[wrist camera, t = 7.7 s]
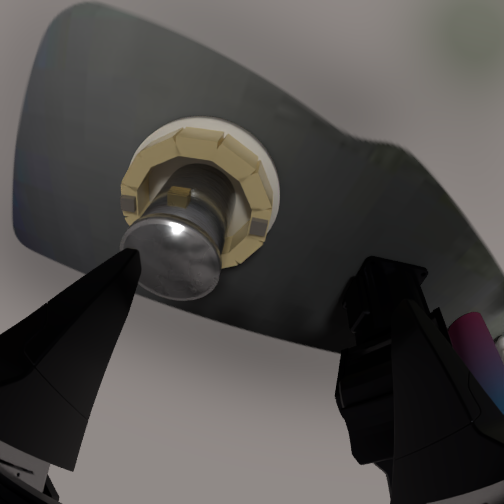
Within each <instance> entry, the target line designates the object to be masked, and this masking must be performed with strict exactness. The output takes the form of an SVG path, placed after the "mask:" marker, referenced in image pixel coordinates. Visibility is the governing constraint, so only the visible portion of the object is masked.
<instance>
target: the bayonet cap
mask: <svg viewBox="0 0 504 504" xmlns="http://www.w3.org/2000/svg"><path fill="white" fill-rule="evenodd" d="M235 204H236V194H235V190H234V187H233V185H232V183H231V181H230V180H229V178H228V177H227V176H226V175H225V174H224V173H222V172H221V171H220V170H218V169H217V168H215V167H213V166H210V165H206V164H200V163H193V164H188V165H185V166H182V167H180V168H179V169H177V170H176V171H175V172H174V173H173V174H172V175H171V176H170V178H169V179H168V180H167V182H166V183H165V184H164V186H163V187H162V188H161V190H160V191H159V192H158V194H157V195H156V196H155V198H154V199H153V200H152V202H151V203H150V205H149V206H148V207H147V209H146V210H145V212H144V213H143V215H142V216H141V217H140V218H139V219H137V220H136V221H134V222H133V223H132V224H131V225H130V227H129V228H128V230H127V231H126V233H125V234H124V236H123V238H122V240H121V244H120V251H122V250H123V249H125V248H127V247H129V248H134V249H138V250H139V252H140V259H141V267H142V270H141V275H140V278H139V281H138V284H139V285H141V286H142V287H143V288H145V289H146V290H148V291H150V292H152V293H154V294H156V295H158V296H161V297H163V298H167V299H171V300H179V301H188V300H195V299H199V298H201V297H204V296H206V295H207V294H209V293H210V292H211V291H212V290H213V289H214V288H215V286H216V285H217V283H218V280H219V277H220V273H221V268H222V259H221V254H222V251H223V247H224V243H225V240H226V236H227V233H228V229H229V225H230V222H231V218H232V215H233V211H234V208H235Z"/></svg>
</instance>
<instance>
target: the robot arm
mask: <svg viewBox="0 0 504 504" xmlns="http://www.w3.org/2000/svg"><path fill="white" fill-rule="evenodd" d="M370 262H373V263H370ZM141 270H142V267H141V259H140V252H139V250H138V249H134V248H129V247H127V248H125V249H123V250H122V251H120V252H119V253H117V254H116V255H114V256H113V257H111V258H110V259H108V260H107V261H105V262H104V263H102V264H101V265H99V266H98V267H96V268H95V269H93V270H92V271H90V272H89V273H87V274H86V275H85V276H83V277H82V278H80V279H79V280H77V281H76V282H74V283H73V284H72V285H70V286H69V287H67V288H66V289H65V290H63V291H62V292H60V293H59V294H58V295H56V296H55V297H54V298H52V299H51V300H50V301H48V304H47V303H45V304H44V305H43V306H41V307H40V308H39V309H37V310H36V311H35V312H33V313H32V314H30V315H29V316H28V317H26V318H25V319H23V320H22V321H20V322H19V323H17V324H16V325H14V326H13V327H11V328H10V329H8V330H7V331H5V332H3V333H2V334H0V504H62V503H60V502H58V501H59V495H58V494H57V492H56V490H55V488H54V486H53V484H52V482H51V480H50V478H49V476H48V470H49V466H50V464H53V465H56V466H58V467H61V468H64V469H66V470H69V471H72V472H73V471H74V468H75V464H76V460H77V457H78V453H79V450H80V446H81V443H82V440H83V436H84V433H85V429H86V426H87V423H88V419H89V416H90V413H91V410H92V407H93V404H94V401H95V398H96V396H97V392H98V390H99V387H100V384H101V381H102V379H103V376H104V373H105V371H106V368H107V365H108V363H109V360H110V358H111V355H112V352H113V350H114V347H115V345H116V342H117V340H118V337H119V335H120V333H121V330H122V328H123V325H124V323H125V321H126V318H127V316H128V313H129V310H130V307H131V304H132V300H133V297H134V294H135V291H136V288H137V285H138V281H139V278H140V275H141ZM427 275H428V271H427V269H426V268H424V267H420V266H416V265H411V264H407V263H402V262H398V261H393V260H389V259H384V258H380V257H375V256H370V257H368V258H367V259H366V261H365V263H364V265H363V266H362V268H361V270H360V272H359V274H358V275H357V276H356V277H355V278H354V280H353V282H352V284H351V286H350V287H349V289H348V291H347V293H346V294H345V299H344V301H343V303H342V306H343V309H346V310H347V313H348V320H349V328H350V331H351V332H353V333H355V337H356V345H357V346H355V347H352V348H350V349H348V348H347V349H344V350H342V351H341V358H340V364H339V372H338V378H337V384H336V390H335V399H336V403H337V406H338V408H339V411H340V413H341V415H342V417H343V418H344V420H345V422H346V425H347V429H348V431H349V437H350V443H351V451H352V455H353V456H354V458H355V459H356V460H357V462H358V463H359V464H360V465H364V464H369V463H374V464H375V465H376V466H377V467H378V468H380V469H381V470H382V471H383V472H384V473H385V474H386V477H387V481H388V487H389V492H390V498H391V501H390V504H504V415H503V413H502V412H501V411H500V410H499V408H498V407H497V406H496V404H495V403H494V402H493V401H492V399H491V398H490V397H489V395H488V394H487V393H486V392H485V390H484V389H483V388H482V386H481V385H480V384H479V382H478V381H477V380H476V378H475V377H474V375H473V374H472V373H471V371H470V370H469V369H468V367H467V366H466V364H465V363H464V362H463V360H462V359H461V358H460V356H459V355H458V354H457V352H456V351H455V350H454V348H453V345H452V341H451V338H450V335H449V332H448V330H447V327H446V324H445V321H444V319H443V316H442V313H441V311H440V308H439V307H438V308H436V309H434V310H433V312H431V313H430V311H429V308H428V305H427V303H426V300H425V297H424V294H423V292H422V289H421V287H420V285H421V284H422V282H423V281H424V279H425V278H426V277H427Z"/></svg>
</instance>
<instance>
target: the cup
mask: <svg viewBox="0 0 504 504" xmlns="http://www.w3.org/2000/svg"><path fill="white" fill-rule="evenodd" d="M448 332H449V335H450V338H451V341H452V345H453V348H454V350H455V351H456V352H457V354H458V355H459V356H460V358H461V359H462V360H463V362H464V363H465V364H466V366H467V367H468V369H469V370H470V371H471V373H472V374H473V375H474V377H475V378H476V380H477V381H478V382H479V384H480V385H481V386H482V388H483V389H484V390H485V392H486V393H487V394H488V395H489V397H490V398H491V399H492V401H493V402H494V403H495V404H496V406H497V407H498V408H499V410H500V411H501V412H502V413H503V415H504V364H503V362H502V359H501V357H500V354H499V352H498V350H497V347H496V345H495V343H494V341H493V339H492V336H491V334H490V332H489V330H488V328H487V326H486V324H485V322H484V320H483V318H482V316H481V314H480V313H478V312H471V313H468V314H465V315H463V316H461V317H460V318H458V319H457V320H456V321H455V322H454V323H453V324H452V325H451V326H450V328H449V330H448Z"/></svg>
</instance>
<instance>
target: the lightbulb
mask: <svg viewBox="0 0 504 504" xmlns="http://www.w3.org/2000/svg"><path fill="white" fill-rule="evenodd" d="M495 345H496V347H497V350H498V352H499V354H500V357H501V359H502V362H503V364H504V336H500V337H499V338H498V340H497V342H496V344H495Z"/></svg>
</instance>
